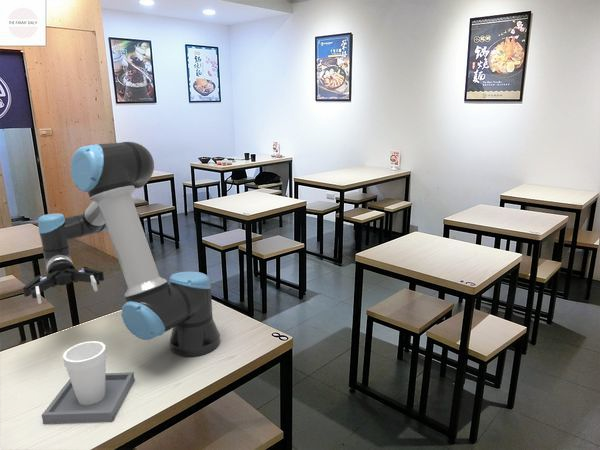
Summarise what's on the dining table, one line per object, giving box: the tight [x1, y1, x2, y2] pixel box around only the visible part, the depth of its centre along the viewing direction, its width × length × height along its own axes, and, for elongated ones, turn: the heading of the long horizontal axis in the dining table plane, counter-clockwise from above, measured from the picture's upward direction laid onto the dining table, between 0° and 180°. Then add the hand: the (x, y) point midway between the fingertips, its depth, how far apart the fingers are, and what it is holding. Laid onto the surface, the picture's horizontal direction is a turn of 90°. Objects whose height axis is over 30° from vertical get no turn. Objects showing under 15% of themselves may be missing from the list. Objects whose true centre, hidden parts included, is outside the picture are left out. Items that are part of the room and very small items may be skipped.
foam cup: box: [62, 340, 107, 405], centre depth 108 cm, size 10×9×13 cm
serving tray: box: [41, 371, 136, 425], centre depth 110 cm, size 16×16×2 cm
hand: (68, 292), depth 117 cm, fingers open, 13 cm apart
